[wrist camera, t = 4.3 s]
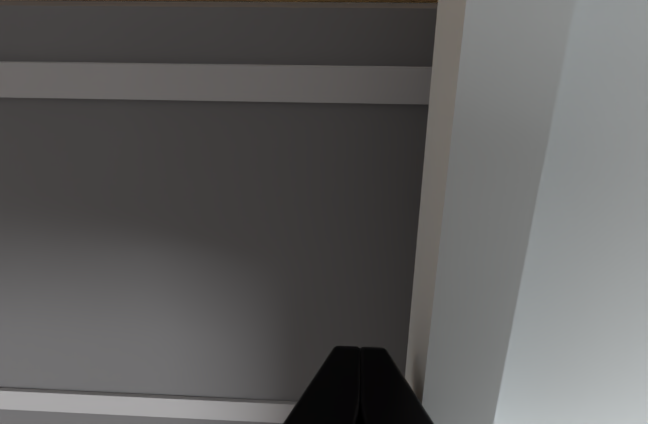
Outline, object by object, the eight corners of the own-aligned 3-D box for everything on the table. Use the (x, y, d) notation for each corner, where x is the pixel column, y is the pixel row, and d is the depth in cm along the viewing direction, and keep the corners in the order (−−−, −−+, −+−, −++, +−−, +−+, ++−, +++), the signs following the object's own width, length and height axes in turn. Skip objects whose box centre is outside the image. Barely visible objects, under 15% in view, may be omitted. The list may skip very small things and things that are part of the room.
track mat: (1195, 7, 9) (1281, 14, 8) (895, 450, 13) (930, 483, 12) (-137, -2, 10) (-181, 4, 9) (9, 406, 14) (-12, 434, 14)
